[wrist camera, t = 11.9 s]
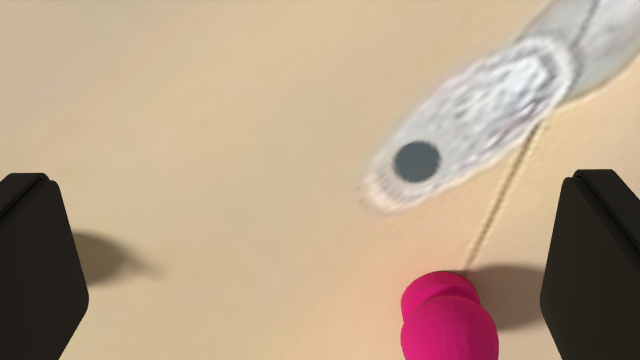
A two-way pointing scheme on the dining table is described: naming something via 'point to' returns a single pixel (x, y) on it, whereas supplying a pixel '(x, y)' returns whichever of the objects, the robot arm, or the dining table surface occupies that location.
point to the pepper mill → (446, 321)
